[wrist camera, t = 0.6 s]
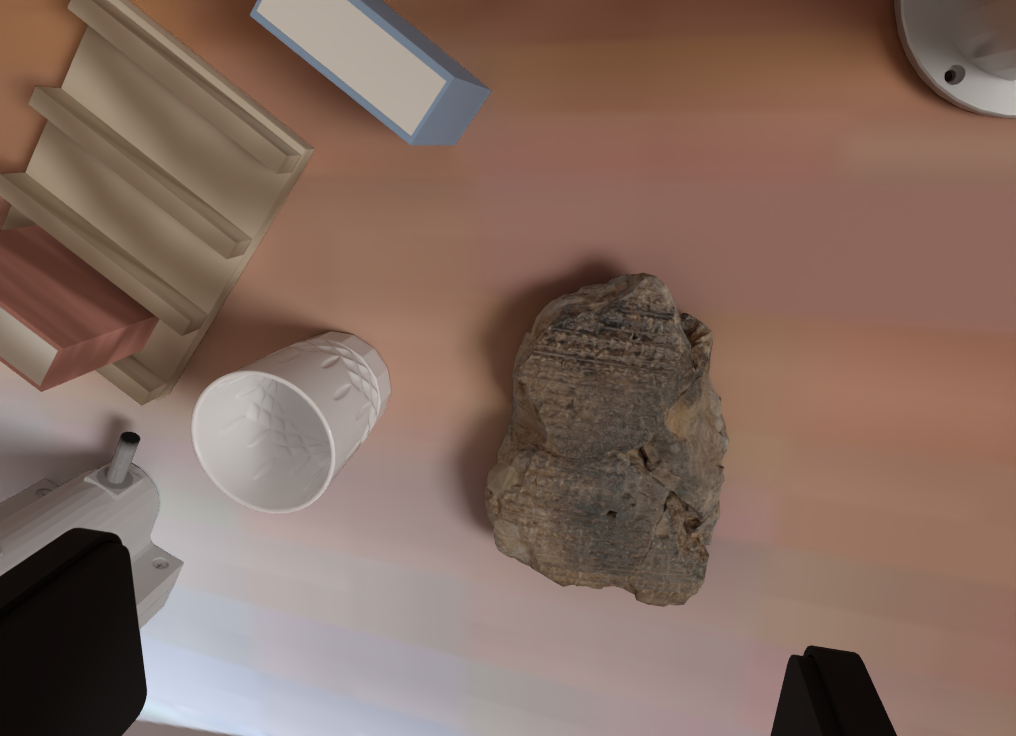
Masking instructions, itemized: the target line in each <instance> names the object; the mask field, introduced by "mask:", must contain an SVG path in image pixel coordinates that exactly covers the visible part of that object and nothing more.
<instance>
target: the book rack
mask: <svg viewBox="0 0 1016 736" xmlns="http://www.w3.org/2000/svg"><path fill="white" fill-rule="evenodd" d="M67 8H68V9H69V10H70V11H71V12H73V13H74V14H75V15H76V16H78V17H79V18H80V19H82V20H83V21H84V22H85V23H87V24H88V26H87V28H86V30H85V33H84V35H83V37H82V40H81V42H80V45H79V47H78V49H77V52H76V54H75V56H74V59H73V61H72V63H71V66H70V68H69V71H68V73H67V75H66V78H65V80H64V82H63V85H62V87H61V88H53V87H43V86H35V88H34V91H33V93H32V96H31V98H30V101H29V103H28V104H29V105H30V106H31V107H32V108H34V109H35V110H36V111H37V112H39V113H40V114H41V115H43V116H44V117H45V118H46V119H48V120H47V122H46V125H45V127H44V130H43V132H42V134H41V137H40V139H39V141H38V144H37V146H36V148H35V151H34V153H33V156H32V158H31V160H30V163H29V165H28V167H27V170H26V172H25V173H5V174H0V196H1V197H2V198H4V199H5V200H6V201H8V202H9V203H10V204H11V207H10V210H9V212H8V215H7V217H6V219H5V222H4V224H3V226H2V229H1V230H0V361H1V362H2V363H4V364H5V365H6V366H8V367H9V368H10V369H12V370H13V371H14V372H16V373H17V374H18V375H20V376H21V377H22V378H24V379H25V380H26V381H28V382H29V383H30V384H32V385H33V386H34V387H36V388H37V389H38V390H39V391H41V392H43V391H45V390H47V389H50V388H52V387H55V386H57V385H60V384H62V383H64V382H67V381H69V380H72V379H74V378H76V377H79V376H81V375H84V374H86V373H89V372H91V371H93V370H96V371H97V372H98V373H100V374H101V375H102V376H104V377H105V378H106V379H107V380H109V381H110V382H111V383H113V384H114V385H115V386H117V387H118V388H119V389H121V390H122V391H123V392H125V393H126V394H127V395H128V396H130V397H131V398H132V399H134V400H135V401H136V402H138V403H139V404H140V405H144V404H146V403H148V402H150V401H151V400H153V399H157V400H159V399H161V398H163V397H165V396H167V395H168V394H170V392H171V390H172V389H173V387H174V385H175V384H176V382H177V380H178V379H179V377H180V375H181V374H182V372H183V370H184V369H185V367H186V365H187V363H188V362H189V360H190V358H191V357H192V355H193V353H194V352H195V350H196V348H197V347H198V345H199V343H200V342H201V340H202V338H203V337H204V335H205V333H206V332H207V330H208V328H209V327H210V325H211V323H212V322H213V320H214V318H215V316H216V315H217V313H218V311H219V310H220V308H221V306H222V305H223V303H224V301H225V300H226V298H227V296H228V295H229V293H230V291H231V290H232V288H233V286H234V285H235V283H236V281H237V280H238V278H239V276H240V275H241V273H242V271H243V269H244V268H245V266H246V264H247V263H248V261H249V259H250V258H251V256H252V254H253V253H254V251H255V249H256V248H257V246H258V244H259V243H260V241H261V239H262V238H263V236H264V234H265V233H266V231H267V229H268V228H269V226H270V224H271V223H272V221H273V219H274V217H275V216H276V214H277V212H278V211H279V209H280V207H281V206H282V204H283V202H284V201H285V199H286V197H287V196H288V194H289V192H290V191H291V189H292V187H293V186H294V184H295V182H296V181H297V179H298V177H299V176H300V174H301V172H302V170H303V169H304V167H305V165H306V164H307V162H308V160H309V159H310V157H311V155H312V154H313V152H314V150H315V149H314V148H313V147H311V146H310V145H309V144H308V143H306V142H305V141H304V140H303V139H301V138H300V137H299V136H298V135H296V134H295V133H294V132H293V131H291V130H290V129H289V128H288V127H286V126H285V125H284V124H283V123H281V122H280V121H279V120H278V119H276V118H275V117H274V116H273V115H271V114H270V113H269V112H268V111H266V110H265V109H264V108H263V107H261V106H260V105H259V104H258V103H256V102H255V101H254V100H253V99H251V98H250V97H249V96H248V95H246V94H245V93H244V92H243V91H241V90H240V89H239V88H238V87H236V86H235V85H234V84H233V83H231V82H230V81H229V80H228V79H226V78H225V77H224V76H223V75H221V74H220V73H219V72H218V71H216V70H215V69H214V68H213V67H211V66H210V65H209V64H208V63H206V62H205V61H204V60H203V59H201V58H200V57H199V56H198V55H196V54H195V53H194V52H193V51H191V50H190V49H189V48H188V47H186V46H185V45H184V44H183V43H181V42H180V41H179V40H178V39H176V38H175V37H174V36H173V35H171V34H170V33H169V32H168V31H166V30H165V29H164V28H163V27H161V26H160V25H159V24H158V23H156V22H155V21H154V20H153V19H151V18H150V17H149V16H148V15H146V14H145V13H144V12H143V11H141V10H140V9H139V8H138V7H136V6H135V5H134V4H133V3H131V2H130V1H129V0H70V3H69V5H68V7H67Z"/></svg>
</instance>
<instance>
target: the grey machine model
mask: <svg viewBox="0 0 1016 736" xmlns="http://www.w3.org/2000/svg"><path fill="white" fill-rule="evenodd" d="M139 441H140V437H139V435H137V434H136V433H133V432H125V433H123V434H121V437H120V439H119V442H118V445H117V447H116V450H115V453H114V456H113V458H112V461H111V462H109V463H108V464H106V465H104V466H103V467H101V468H99V469H92V470H89V471H86V472H84V473H82V474H80V475H79V476H77V477H75V478H74V479H72V480H70V481H69V482H67V483H65V484H63V485H62V486H60V487H58V486H57V485H55V484H53V483H52V482H50V481H48V480H47V479H43V480H41V481H39V482H37V483H36V484H34V485H32V486H30V487H28V488H27V489H25V490H23V491H21V492H20V493H18V494H16V495H14V496H12V497H11V498H9V499H7V500H5V501H3V502H2V503H0V576H1V575H2V574H4V573H5V572H7V571H8V570H10V569H11V568H13V567H14V566H16V565H17V564H19V563H20V562H22V561H23V560H25V559H26V558H28V557H29V556H31V555H32V554H34V553H35V552H37V551H38V550H40V549H41V548H43V547H44V546H46V545H47V544H48V543H50V542H51V541H53V540H54V539H56V538H57V537H59V536H60V535H62V534H63V533H65V532H66V531H68V530H70V529H73V528H86V529H93V530H99V531H105V532H111V533H114V534H117V535H118V536H119V537H120V539H121V541H122V544H123V545H124V546H126V547H127V548H128V550H129V553H130V559H131V567H132V575H133V583H134V591H135V599H136V607H137V615H138V623H139V630H140V629H141V628H142V627H143V626H144V625H145V624H146V623H147V622H148V621H149V620H150V619H151V618H152V617H153V616H154V615H155V614H156V613H157V612H158V611H159V610H160V609H161V608H162V607H163V606H164V605H165V603H166V601H167V599H168V597H169V595H170V593H171V591H172V589H173V587H174V585H175V582H176V580H177V578H178V575H179V573H180V570H181V568H182V566H183V562H182V561H180V560H179V559H177V558H175V557H174V556H172V555H170V554H169V553H167V552H165V551H164V550H162V549H160V548H159V547H157V546H155V545H154V544H153V543H152V542H151V539H150V534H151V531H152V528H153V525H154V522H155V520H156V517H157V514H158V511H159V497H158V493H157V490H156V488H155V486H154V484H153V483H152V481H151V480H150V478H149V477H148V476H147V475H146V474H145V473H144V472H143V471H142V470H141V469H140V468H138V467H137V466H135V465H133V464H131V462H132V459H133V457H134V454H135V452H136V449H137V446H138V444H139Z"/></svg>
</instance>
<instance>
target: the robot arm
mask: <svg viewBox="0 0 1016 736" xmlns="http://www.w3.org/2000/svg"><path fill="white" fill-rule="evenodd" d="M894 10H895V17H896V24H897V31H898V35H899V38H900V40H901V43H902V46H903V49H904V51H905V54H906V57H907V58H908V60H909V62H910V63H911V65H912V66H913V68H914V69H915V71H916V72H917V74H918V75H919V77H920V78H921V79H922V80H923V81H924V82H925V83H926V84H927V85H928V86H929V87H930V88H931V89H932V90H933V91H934V92H935V93H936V94H937V95H939V96H940V97H942V98H944V99H945V100H947V101H949V102H950V103H952V104H954V105H956V106H957V107H959V108H962V109H965V110H968V111H971V112H974V113H977V114H980V115H983V116H989V117H998V118H1006V119H1016V0H894ZM947 71H950V72H951V73H952V78H951V80H950V81H949V82H946V81H945V79H944V76H945V72H947ZM146 696H147V687H146V679H145V671H144V663H143V655H142V647H141V639H140V631H139V623H138V615H137V607H136V599H135V591H134V583H133V575H132V567H131V559H130V553H129V550H128V548H127V547H126V546H124V545H123V544H122V541H121V539H120V537H119V536H118V535H117V534H114V533H111V532H105V531H99V530H93V529H86V528H73V529H70V530H68V531H66V532H65V533H63V534H62V535H60V536H59V537H57V538H56V539H54V540H53V541H51V542H50V543H48V544H47V545H46V546H44V547H43V548H41V549H40V550H38V551H37V552H35V553H34V554H32V555H31V556H29V557H28V558H26V559H25V560H23V561H22V562H20V563H19V564H17V565H16V566H14V567H13V568H11V569H10V570H8V571H7V572H5V573H4V574H2V575H1V576H0V736H122V735H123V733H124V732H125V731H126V730H127V729H128V728H129V727H130V726H131V724H132V723H133V722H134V721H135V720H136V718H137V717H138V716H139V714H140V712H141V711H142V709H143V706H144V704H145V701H146ZM771 736H897V735H896V732H895V730H894V728H893V726H892V724H891V722H890V719H889V717H888V715H887V713H886V711H885V708H884V706H883V704H882V702H881V700H880V698H879V695H878V693H877V691H876V689H875V687H874V684H873V682H872V680H871V678H870V676H869V674H868V671H867V669H866V667H865V665H864V663H863V661H862V659H861V657H860V656H859V655H858V654H857V653H855V652H849V651H843V650H836V649H830V648H824V647H818V646H812V645H811V646H808V647H807V648H806V650H805V652H804V655H803V656H799V655H791V657H790V658H789V661H788V664H787V668H786V672H785V677H784V681H783V685H782V689H781V694H780V698H779V702H778V706H777V711H776V715H775V719H774V724H773V728H772V732H771Z"/></svg>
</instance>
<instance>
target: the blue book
mask: <svg viewBox="0 0 1016 736" xmlns="http://www.w3.org/2000/svg"><path fill="white" fill-rule="evenodd" d="M250 16H251V17H252V18H253V19H255V20H256V21H257V22H258V23H260V24H261V25H262V26H263V27H265V28H266V29H267V30H268V31H270V32H271V33H272V34H273V35H275V36H276V37H277V38H278V39H279V40H281V41H282V42H283V43H284V44H286V45H287V46H288V47H289V48H291V49H292V50H293V51H294V52H296V53H297V54H298V55H299V56H301V57H302V58H303V59H304V60H305V61H307V62H308V63H309V64H310V65H312V66H313V67H314V68H315V69H317V70H318V71H319V72H320V73H322V74H323V75H324V76H325V77H327V78H328V79H329V80H330V81H331V82H333V83H334V84H335V85H336V86H338V87H339V88H340V89H341V90H343V91H344V92H345V93H346V94H348V95H349V96H350V97H351V98H353V99H354V100H355V101H356V102H358V103H359V104H360V105H361V106H362V107H364V108H365V109H366V110H367V111H369V112H370V113H371V114H372V115H374V116H375V117H376V118H377V119H379V120H380V121H381V122H382V123H384V124H385V125H386V126H387V127H388V128H390V129H391V130H392V131H393V132H395V133H396V134H397V135H398V136H400V137H401V138H402V139H403V140H405V141H406V142H407V143H408V144H410V145H455V144H456V143H457V142H458V140H459V139H460V137H461V136H462V134H463V133H464V131H465V130H466V128H467V127H468V125H469V124H470V122H471V121H472V119H473V118H474V117H475V115H476V114H477V112H478V111H479V109H480V108H481V106H482V105H483V103H484V102H485V100H486V99H487V97H488V96H489V95H490V93H491V92H492V90H490V89H489V88H488V87H487V86H485V85H484V84H483V83H482V82H481V81H479V80H478V79H477V78H476V77H474V76H473V75H472V74H471V73H470V72H468V71H467V70H466V69H465V68H463V67H462V66H461V65H460V64H459V63H457V62H456V61H455V60H454V59H452V58H451V57H450V56H449V55H448V54H446V53H445V52H444V51H443V50H441V49H440V48H439V47H438V46H437V45H435V44H434V43H433V42H432V41H430V40H429V39H428V38H427V37H426V36H424V35H423V34H422V33H421V32H419V31H418V30H417V29H416V28H415V27H413V26H412V25H411V24H410V23H408V22H407V21H406V20H405V19H404V18H402V17H401V16H400V15H399V14H398V13H396V12H395V11H394V10H393V9H391V8H390V7H389V6H388V5H387V4H385V3H384V2H383V1H382V0H257V2H256V4H255V6H254V8H253V10H252V12H251V14H250Z"/></svg>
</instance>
